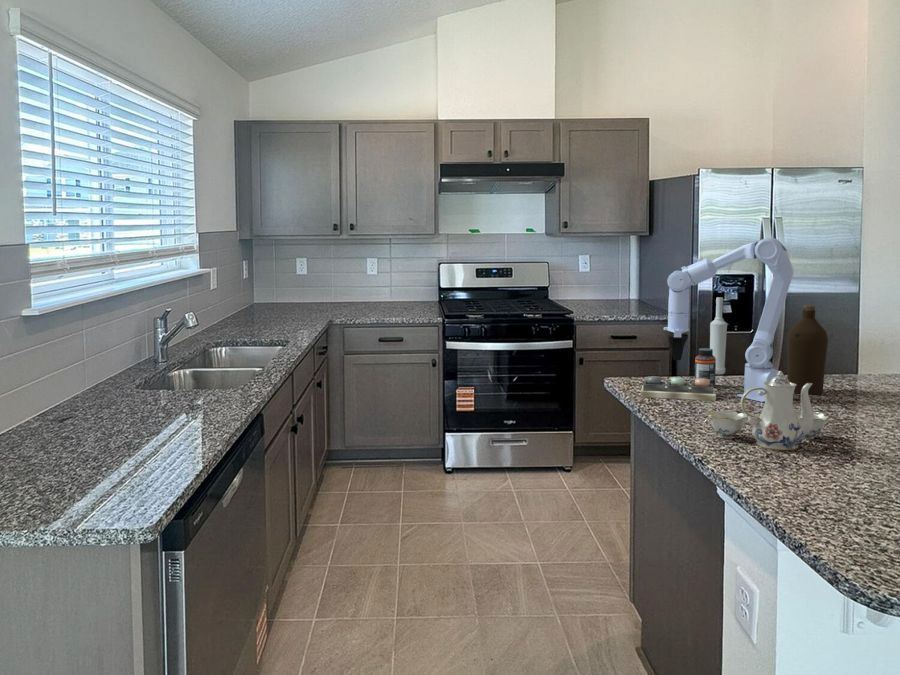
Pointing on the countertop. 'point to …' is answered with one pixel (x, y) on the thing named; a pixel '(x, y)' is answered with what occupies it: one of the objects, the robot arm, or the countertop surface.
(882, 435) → the countertop surface
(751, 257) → the robot arm
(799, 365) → the olive oil
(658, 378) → the button charcoal
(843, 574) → the countertop surface
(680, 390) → the panel
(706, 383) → the button terracotta
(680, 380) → the button sage
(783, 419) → the chinaware
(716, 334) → the bottle
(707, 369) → the supplement bottle
